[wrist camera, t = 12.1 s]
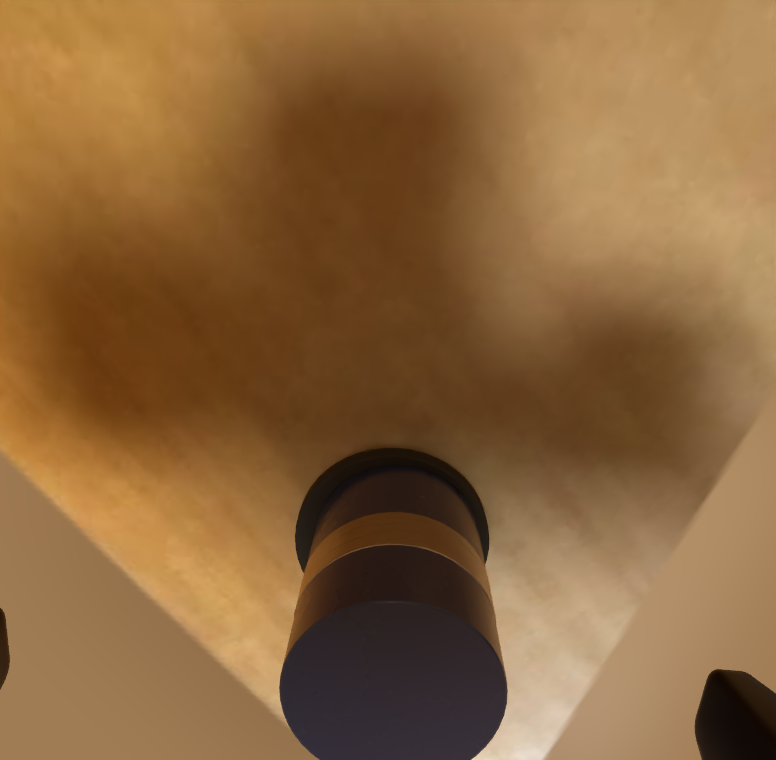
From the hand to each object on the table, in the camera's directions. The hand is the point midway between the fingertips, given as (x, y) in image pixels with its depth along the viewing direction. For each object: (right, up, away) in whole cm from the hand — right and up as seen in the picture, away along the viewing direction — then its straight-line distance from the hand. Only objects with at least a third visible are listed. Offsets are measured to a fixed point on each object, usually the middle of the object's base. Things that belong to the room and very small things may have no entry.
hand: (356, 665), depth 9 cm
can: (+1, -1, +13) cm, 13 cm away
